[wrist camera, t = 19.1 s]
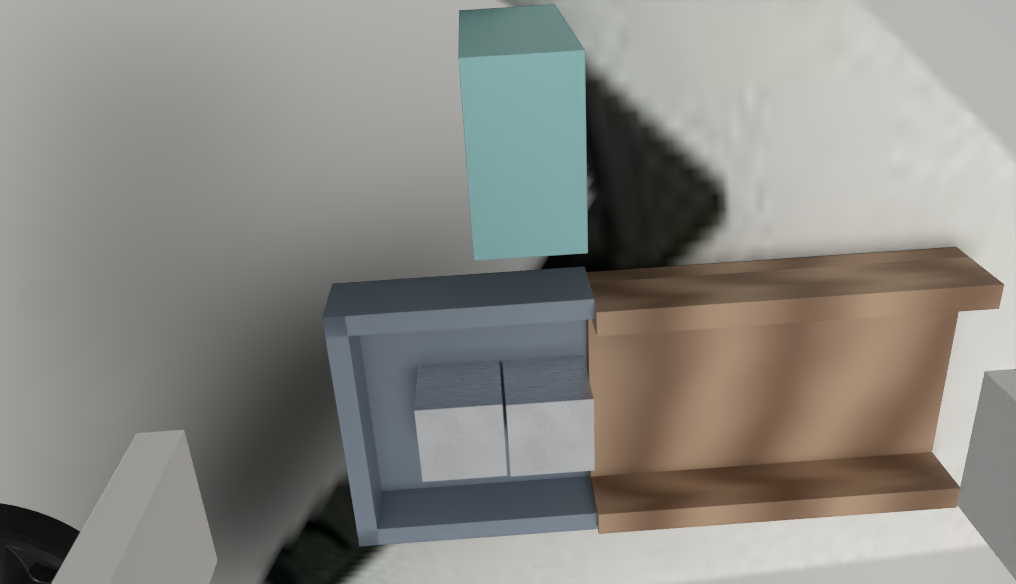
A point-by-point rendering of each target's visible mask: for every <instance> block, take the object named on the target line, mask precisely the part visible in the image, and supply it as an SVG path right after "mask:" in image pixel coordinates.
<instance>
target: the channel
mask: <svg viewBox="0 0 1016 584" xmlns="http://www.w3.org/2000/svg"><path fill="white" fill-rule="evenodd" d="M586 273H587V276H588V280H589V283H590V286H591V290H592V293H593V296H594V308H595V319H590V320H587V373H588V377H589V381H590V385H591V389H592V393H593V398H594V449H595V470H594V471H589V478H590V483H591V488H592V492H593V497H594V502H595V507H596V512H597V527H598V532H599V534H602V533H615V532H629V531H642V530H656V529H670V528H683V527H697V526H710V525H724V524H737V523H751V522H765V521H778V520H792V519H805V518H819V517H832V516H846V515H860V514H873V513H887V512H900V511H914V510H927V509H941V508H955V507H957V501H958V496H959V491H960V487H959V486H958V484H957V483H956V482H955V481H954V479H953V478H952V477H951V476H950V474H949V473H948V472H947V470H946V469H945V468H944V467H943V465H942V464H941V463H940V462H939V460H938V459H937V458H936V457H935V455H934V454H933V453H932V448H933V443H934V437H935V432H936V427H937V422H938V417H939V411H940V406H941V401H942V396H943V390H944V385H945V380H946V375H947V369H948V364H949V359H950V354H951V349H952V343H953V338H954V333H955V328H956V322H957V317H958V312H959V311H972V310H986V309H999V306H1000V301H1001V296H1002V292H1003V287H1004V284H1003V283H1002V282H1000V281H999V280H998V279H997V278H995V277H994V276H993V275H991V274H990V273H989V272H988V271H986V270H985V269H984V268H982V267H981V266H980V265H979V264H977V263H976V262H975V261H973V260H972V259H971V258H970V257H968V256H967V255H966V254H964V253H963V252H962V251H961V250H959V249H958V248H957V247H950V248H935V249H920V250H906V251H891V252H876V253H861V254H847V255H832V256H817V257H803V258H788V259H773V260H758V261H744V262H729V263H714V264H700V265H685V266H670V267H655V268H641V269H626V270H611V271H597V272H586Z"/></svg>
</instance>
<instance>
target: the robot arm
mask: <svg viewBox="0 0 1016 584" xmlns="http://www.w3.org/2000/svg"><path fill="white" fill-rule="evenodd" d="M957 505H958V506H959V508H960V509H961V510H962V512H963V513H964V514H965V515H966V517H967V518H968V519H969V521H970V522H971V523H972V524H973V526H974V527H975V528H976V530H977V531H978V532H979V533H980V535H981V536H982V537H983V539H984V540H985V541H986V542H987V544H988V545H989V546H990V548H991V549H992V550H993V551H994V553H995V554H996V555H997V557H998V558H999V559H1000V560H1001V562H1002V563H1003V564H1004V566H1005V567H1006V568H1007V569H1008V571H1009V572H1010V573H1011V575H1012V576H1013V577H1014V578H1015V580H1016V369H1011V370H998V371H985V373H984V378H983V382H982V387H981V392H980V397H979V401H978V406H977V411H976V416H975V420H974V425H973V430H972V434H971V439H970V444H969V449H968V453H967V458H966V463H965V467H964V472H963V477H962V482H961V486H960V491H959V496H958V501H957ZM216 563H217V557H216V553H215V549H214V545H213V541H212V538H211V533H210V529H209V525H208V521H207V518H206V514H205V510H204V506H203V502H202V498H201V494H200V490H199V486H198V482H197V478H196V475H195V471H194V467H193V463H192V459H191V455H190V451H189V448H188V443H187V440H186V436H185V432H184V430H173V431H160V432H145V433H136V435H135V436H134V438H133V440H132V442H131V443H130V445H129V447H128V449H127V450H126V452H125V454H124V456H123V458H122V459H121V461H120V463H119V465H118V466H117V468H116V470H115V472H114V473H113V475H112V477H111V479H110V481H109V482H108V484H107V486H106V488H105V489H104V491H103V493H102V495H101V496H100V498H99V500H98V502H97V504H96V505H95V507H94V509H93V511H92V513H91V514H90V516H89V518H88V520H87V521H86V523H85V525H84V527H83V528H82V530H81V532H80V531H78V530H76V529H75V528H73V527H71V526H69V525H67V524H65V523H63V522H61V521H59V520H57V519H54V518H52V517H50V516H47V515H44V514H42V513H39V512H36V511H32V510H29V509H25V508H21V507H17V506H13V505H7V504H0V584H210V581H211V578H212V575H213V572H214V569H215V566H216Z"/></svg>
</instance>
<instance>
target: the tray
mask: <svg viewBox="0 0 1016 584" xmlns="http://www.w3.org/2000/svg"><path fill="white" fill-rule="evenodd" d="M322 319H323V325H324V332H325V338H326V344H327V350H328V356H329V362H330V368H331V375H332V381H333V386H334V393H335V399H336V405H337V411H338V417H339V423H340V429H341V436H342V442H343V448H344V454H345V460H346V466H347V473H348V479H349V485H350V491H351V497H352V503H353V509H354V515H355V521H356V528H357V534H358V540H359V546H371V545H385V544H399V543H412V542H426V541H439V540H453V539H466V538H480V537H494V536H507V535H521V534H534V533H548V532H562V531H575V530H589V529H597V512H596V507H595V502H594V497H593V492H592V488H591V483H590V478H589V471H580V472H566V473H552V474H538V475H524V476H510V464H509V451H508V438H507V425H506V410H505V394H504V379H503V363H502V361H505V360H519V359H534V358H548V357H562V356H577V355H583V357H584V361H585V365H586V369H587V320H590V319H595V308H594V296H593V293H592V290H591V286H590V283H589V280H588V276H587V273H586V270H585V267H571V268H557V269H542V270H527V271H513V272H498V273H484V274H468V275H454V276H439V277H425V278H409V279H395V280H380V281H367V282H366V281H365V282H351V283H336V284H332V288H331V291H330V294H329V297H328V300H327V304H326V307H325V311H324V314H323V317H322ZM491 360H499V365H500V378H501V391H502V404H503V420H504V435H505V450H506V465H507V476H498V477H484V478H470V479H456V480H442V481H429V482H423V481H422V472H421V464H420V456H419V447H418V439H417V430H416V422H415V413H414V407H415V396H416V384H417V372H418V366H420V365H434V364H448V363H463V362H477V361H491Z"/></svg>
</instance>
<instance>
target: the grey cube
mask: <svg viewBox="0 0 1016 584" xmlns="http://www.w3.org/2000/svg"><path fill="white" fill-rule="evenodd" d="M414 413H415V422H416V430H417V439H418V447H419V456H420V464H421V472H422V481H423V482H429V481H442V480H456V479H470V478H484V477H498V476H507V465H506V450H505V435H504V420H503V404H502V391H501V378H500V365H499V360H491V361H477V362H463V363H448V364H434V365H420V366H418V372H417V384H416V396H415V407H414Z"/></svg>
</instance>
